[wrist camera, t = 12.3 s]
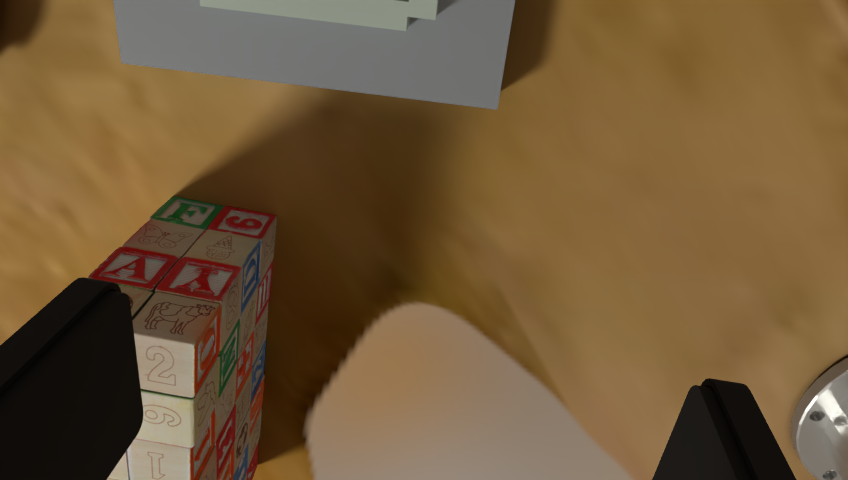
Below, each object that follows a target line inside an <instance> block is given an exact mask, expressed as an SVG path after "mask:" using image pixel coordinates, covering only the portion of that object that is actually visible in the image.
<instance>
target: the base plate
mask: <svg viewBox="0 0 848 480" xmlns="http://www.w3.org/2000/svg"><path fill="white" fill-rule="evenodd" d="M113 3H114V11H115V18H116V26H117V34H118V41H119V49H120V57H121V63H124V64H132V65H140V66H148V67H156V68H164V69H172V70H180V71H188V72H197V73H205V74H213V75H221V76H229V77H237V78H245V79H253V80H261V81H269V82H278V83H286V84H294V85H302V86H310V87H318V88H326V89H334V90H342V91H350V92H359V93H367V94H375V95H383V96H391V97H399V98H407V99H415V100H423V101H431V102H439V103H448V104H456V105H464V106H472V107H480V108H488V109H496V110H497V108H498V102H499V96H500V90H501V84H502V78H503V72H504V66H505V60H506V53H507V47H508V41H509V35H510V29H511V23H512V17H513V11H514V5H515V0H113Z"/></svg>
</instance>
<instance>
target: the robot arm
mask: <svg viewBox="0 0 848 480" xmlns="http://www.w3.org/2000/svg"><path fill="white" fill-rule="evenodd" d="M142 422H143V404H142V396H141V387H140V379H139V371H138V363H137V354H136V346H135V338H134V330H133V322H132V313H131V305H130V299H129V296H128V295H127V294H125V293H121V289H120V287H119V285H118V284H116V283H114V282H108V281H102V280H95V279H89V278H78V279H77V280H75V281H73V282H72V283H71V284H70V285H69V286H68V287H67V288H65V289H64V290H63V291H62V292H61V293H60V294H59V295H58V296H56V297H55V298H54V299H53V300H52V301H51V302H50V303H48V304H47V305H46V306H45V307H44V308H43V309H42V310H40V311H39V312H38V313H37V314H36V315H35V316H34V317H32V318H31V319H30V320H29V321H28V322H27V323H26V324H24V325H23V326H22V327H21V328H20V329H19V330H18V331H16V332H15V333H14V334H13V335H12V336H11V337H10V338H8V339H7V340H6V341H5V342H4V343H3V344H2V345H0V480H107V478H108V477H109V475H110V474H111V472H112V471H113V470H114V468H115V467H116V465H117V464H118V462H119V461H120V459H121V458H122V456H123V455H124V454H125V452H126V451H127V449H128V448H129V446H130V445H131V443H132V442H133V440H134V439H135V438H136V436H137V434H138V433H139V431H140V428H141V425H142ZM791 438H792V442H793V446H794V449H795V450H796V452H797V454H798V456H799V458H800V460H801V462H802V463H803V465H804V466H805V467H806V468H807V470H808V471H809V472H810V474H812V475H813V476H814V477H815V478H817V479H818V480H848V358H846V359H844V360H843V361H841V362H839V363H838V364H836V365H834V366H833V367H831V368H830V369H829V370H828V371H827V372H825V373H824V374H823V375H822V376H820V377H819V378H818V379H817V380H816V381H815V382H814V383H813V384H812V385H811V386H810V388H809V389H808V390H807V391H806V392H805V393H804V395H803V397H802V398H801V400H800V402H799V403H798V405H797V407H796V409H795V412H794V415H793V418H792V421H791ZM652 480H796V478H795V476H794V474H793V472H792V470H791V469H790V467H789V465H788V463H787V461H786V459H785V457H784V455H783V453H782V451H781V449H780V447H779V445H778V443H777V441H776V439H775V438H774V436H773V434H772V432H771V430H770V428H769V426H768V424H767V422H766V420H765V418H764V416H763V414H762V412H761V410H760V409H759V407H758V405H757V403H756V401H755V399H754V397H753V395H752V393H751V391H750V390H749V388H748V387H747V386H746V385H744V384H741V383H735V382H728V381H722V380H716V379H710V378H709V379H706V380H705V381H704V382H703V383H702V384H701V386H696V385H695V386H692V387H691V388H690V390H689V392H688V394H687V397H686V399H685V402H684V404H683V407H682V409H681V411H680V414H679V416H678V419H677V421H676V423H675V426H674V428H673V431H672V433H671V436H670V438H669V440H668V443H667V445H666V448H665V450H664V453H663V455H662V457H661V460H660V462H659V465H658V467H657V470H656V472H655V474H654V477H653V479H652Z"/></svg>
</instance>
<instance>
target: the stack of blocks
mask: <svg viewBox="0 0 848 480" xmlns="http://www.w3.org/2000/svg"><path fill="white" fill-rule="evenodd" d="M276 224H277V216H276V215H271V214H266V213H261V212H256V211H251V210H246V209H240V208H235V207H230V206H220V205H215V204H210V203H205V202H200V201H195V200H190V199H185V198H180V197H176V196H173V197H171V198H170V199H169V200H168V201H167V202H166V203H165V204H164V205H163V206H161V207H160V208H159V209H158V210H157V211H156V212H155V213H154V214H153V215H152V216H151V217H150V219H149V221H148V222H147V223H146V224H144V225H143V226H142V227H141V228H140V229H139V230H138V231H137V232H136V233H135V234H134V235H133V236H131V237H130V239H129V240H128V241H127V242H126V243H125V244H124V245H123V247H119V248H118V249H116V250H115V251H114V252H113V253H112V254H111V255H110V256H109V257H108V258H107V259H106V260H105V261H104V262H103V263H102V264H100V265H99V267H98V268H97V269H95V270H94V271H93V272H92V273H91V274H90V275H89V277H88V278H89V279H95V280H102V281H108V282H114V283H116V284H118V285H119V287H120V289H121V293H125V294H127V295H128V296H129V299H130V305H131V313H132V322H133V330H134V338H135V346H136V354H137V363H138V371H139V379H140V387H141V396H142V404H143V422H142V425H141V428H140V431H139V433H138V434H137V436H136V438H135V439H134V440H133V442H132V443H131V445H130V446H129V448H128V449H127V451H126V452H125V454H124V455H123V456H122V458H121V459H120V461H119V462H118V464H117V465H116V467H115V468H114V470H113V471H112V472H111V474H110V475H109V477H108V478H107V480H252V479H253V476H254V473H255V470H256V468H257V460H258V441H259V438H260V430H261V416H262V404H263V392H264V379H265V375H264V374H263V373H264V363H265V350H266V332H267V319H268V304H269V303H268V302H269V300H270V293H271V280H272V269H273V258H274V249H275V237H276Z"/></svg>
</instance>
